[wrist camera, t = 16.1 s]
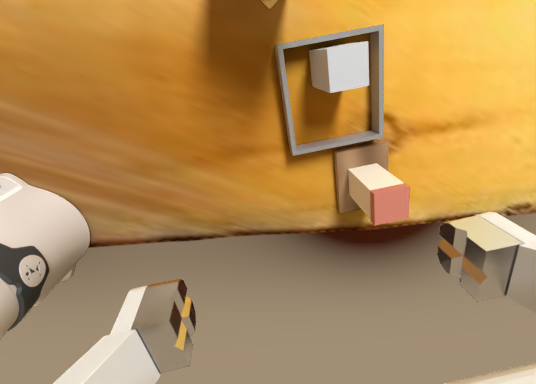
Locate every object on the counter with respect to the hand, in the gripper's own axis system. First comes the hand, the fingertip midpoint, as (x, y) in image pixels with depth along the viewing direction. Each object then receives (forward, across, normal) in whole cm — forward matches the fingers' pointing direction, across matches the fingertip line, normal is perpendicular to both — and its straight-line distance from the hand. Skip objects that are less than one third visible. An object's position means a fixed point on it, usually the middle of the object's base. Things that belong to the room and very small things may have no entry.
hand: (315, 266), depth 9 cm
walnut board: (+34, -15, +14) cm, 40 cm away
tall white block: (+34, -11, -3) cm, 36 cm away
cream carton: (+33, -15, +14) cm, 39 cm away
